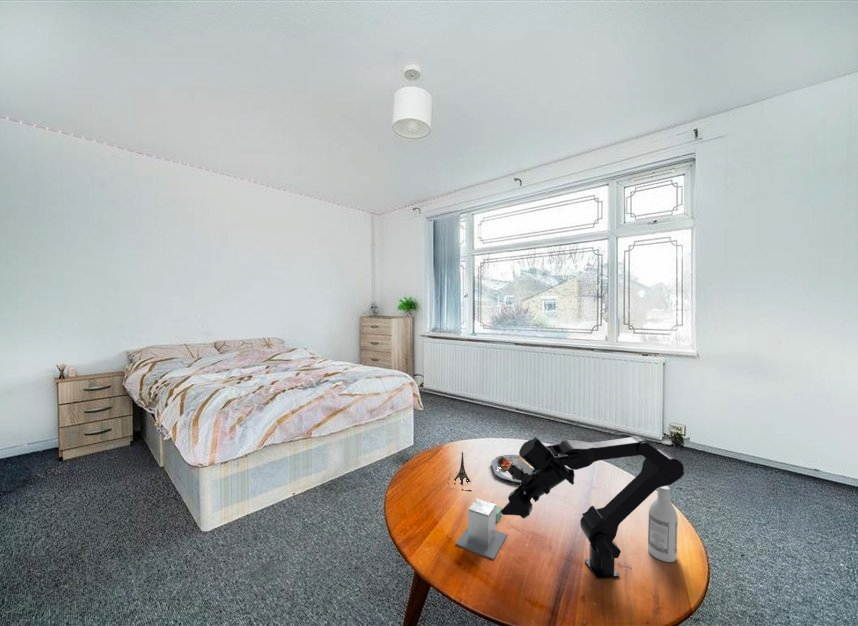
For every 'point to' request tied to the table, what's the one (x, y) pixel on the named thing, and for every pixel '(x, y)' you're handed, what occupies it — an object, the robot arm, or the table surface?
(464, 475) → the eiffel tower figurine
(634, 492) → the robot arm
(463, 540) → the rubber mat
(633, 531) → the table surface
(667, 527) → the bath foam
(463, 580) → the table surface
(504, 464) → the food plate
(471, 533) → the silver grey block
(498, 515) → the pale green block
